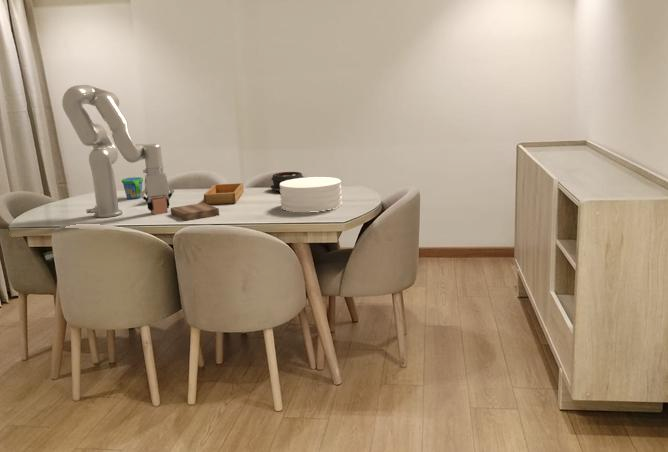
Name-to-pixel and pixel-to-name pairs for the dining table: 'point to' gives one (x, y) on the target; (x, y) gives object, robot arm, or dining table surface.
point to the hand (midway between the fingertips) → (158, 208)
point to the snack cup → (133, 187)
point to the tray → (223, 193)
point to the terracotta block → (159, 205)
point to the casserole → (284, 178)
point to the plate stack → (310, 194)
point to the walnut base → (194, 211)
